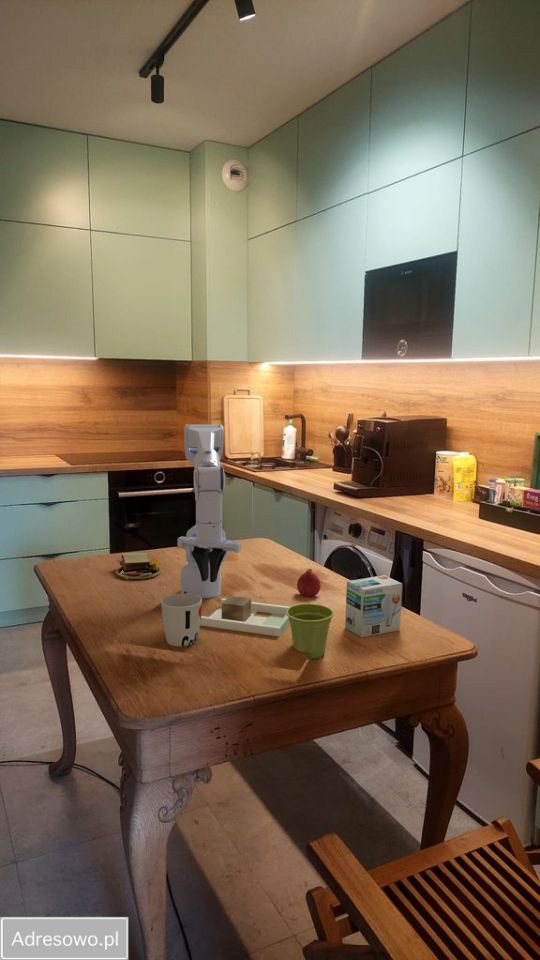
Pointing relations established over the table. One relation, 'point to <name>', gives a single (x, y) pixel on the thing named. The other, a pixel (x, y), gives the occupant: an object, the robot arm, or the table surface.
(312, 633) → the plant pot
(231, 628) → the tray
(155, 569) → the toy sandwich meal
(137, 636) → the table surface
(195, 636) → the cup
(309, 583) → the onion
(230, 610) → the block
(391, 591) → the light bulb box
